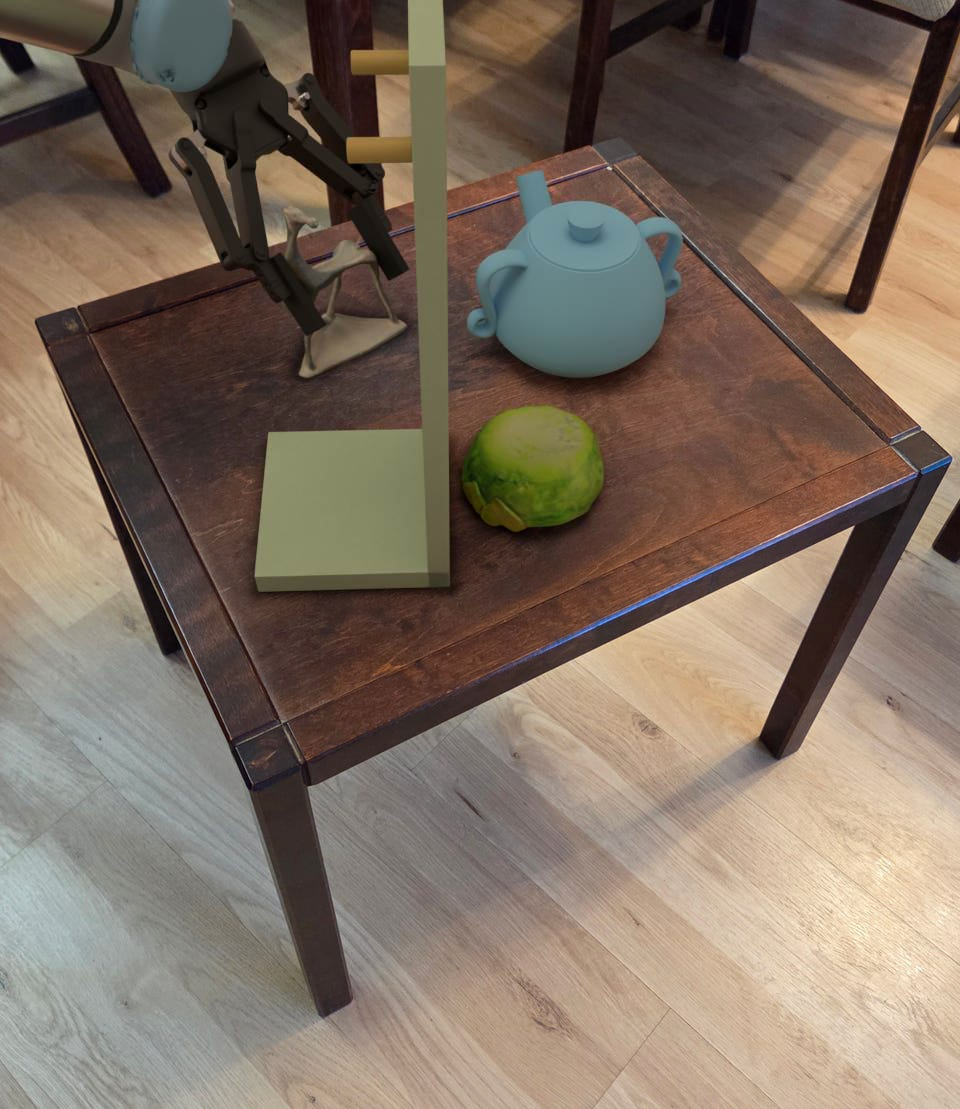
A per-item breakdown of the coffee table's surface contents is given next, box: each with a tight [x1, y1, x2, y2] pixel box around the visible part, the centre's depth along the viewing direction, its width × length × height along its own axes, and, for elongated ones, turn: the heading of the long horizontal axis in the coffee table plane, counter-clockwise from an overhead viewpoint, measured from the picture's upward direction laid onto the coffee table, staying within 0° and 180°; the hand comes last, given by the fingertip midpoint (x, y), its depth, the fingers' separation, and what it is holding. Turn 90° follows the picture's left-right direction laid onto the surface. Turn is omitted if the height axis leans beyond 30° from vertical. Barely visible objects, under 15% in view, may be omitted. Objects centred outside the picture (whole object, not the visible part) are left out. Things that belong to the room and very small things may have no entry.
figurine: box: [280, 204, 408, 379], centre depth 87 cm, size 11×6×15 cm, turn 123°
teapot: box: [466, 169, 684, 379], centre depth 90 cm, size 20×20×13 cm
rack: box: [254, 0, 451, 593], centre depth 65 cm, size 14×14×40 cm
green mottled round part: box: [461, 404, 605, 533], centre depth 82 cm, size 12×11×5 cm
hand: (358, 302), depth 87 cm, fingers closed on figurine, 9 cm apart
